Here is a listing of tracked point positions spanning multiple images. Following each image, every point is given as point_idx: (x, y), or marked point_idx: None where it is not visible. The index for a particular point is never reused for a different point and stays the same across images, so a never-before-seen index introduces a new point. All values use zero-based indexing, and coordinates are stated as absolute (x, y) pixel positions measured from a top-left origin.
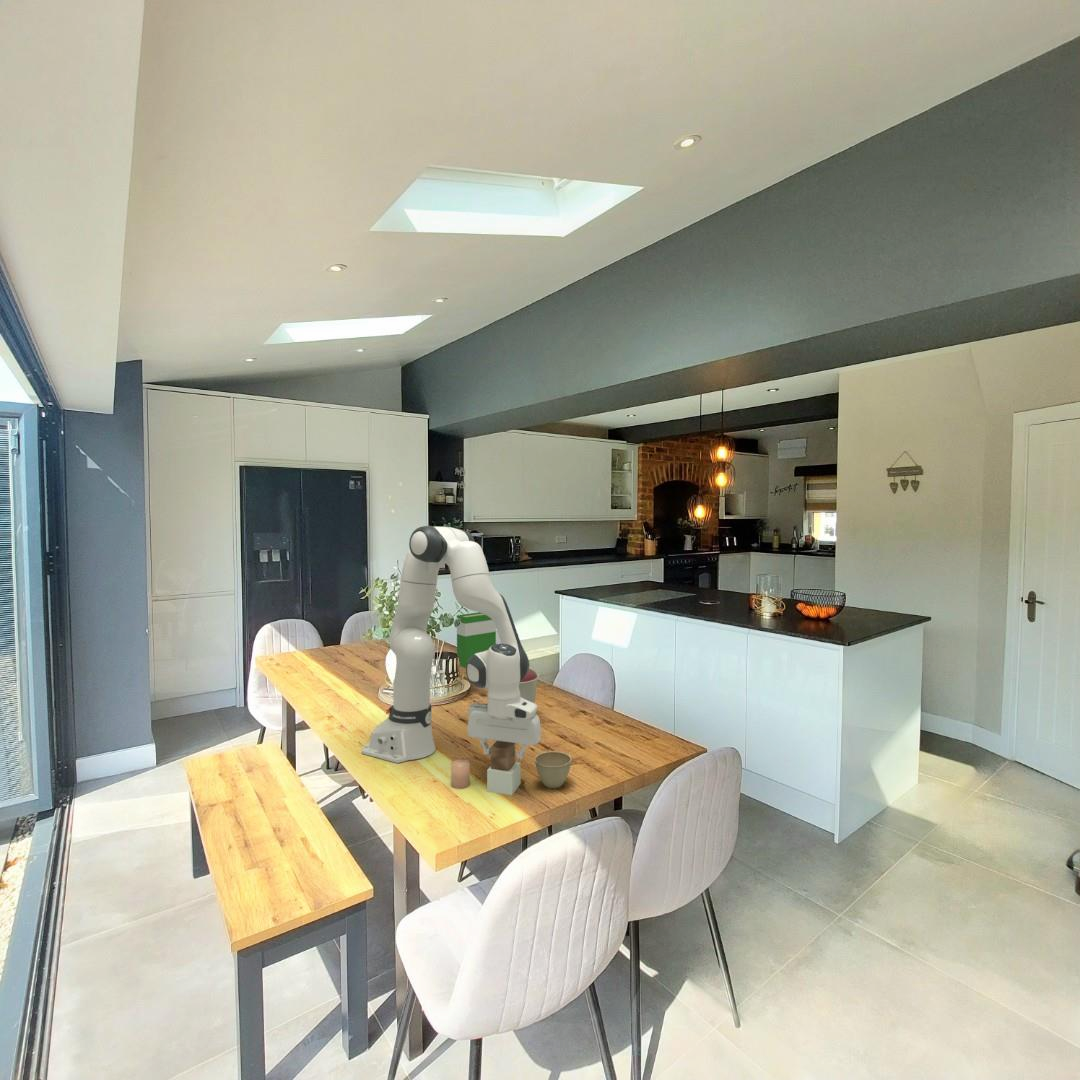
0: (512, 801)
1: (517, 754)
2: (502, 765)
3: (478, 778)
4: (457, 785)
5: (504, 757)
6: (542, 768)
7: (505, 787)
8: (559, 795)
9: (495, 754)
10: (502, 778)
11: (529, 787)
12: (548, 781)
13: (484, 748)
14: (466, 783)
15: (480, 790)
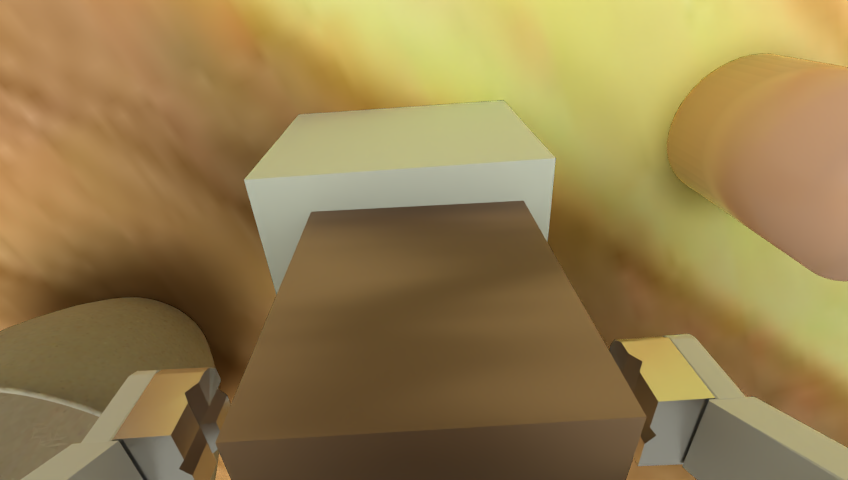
0: (237, 17)
1: (171, 416)
2: (379, 235)
3: (625, 250)
4: (771, 59)
5: (336, 305)
6: (33, 365)
7: (345, 126)
8: (4, 234)
9: (500, 315)
10: (367, 147)
11: (252, 259)
12: (82, 307)
13: (738, 397)
14: (700, 109)
15: (560, 97)
